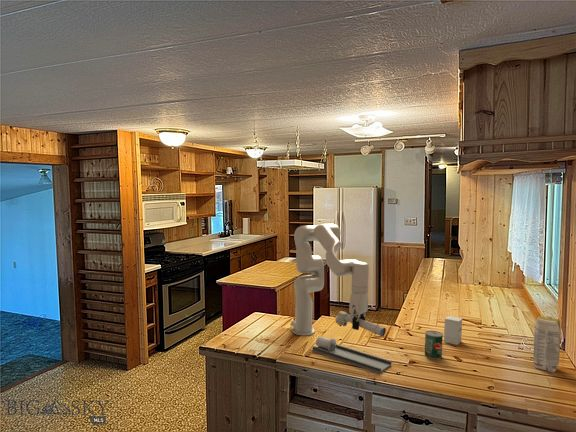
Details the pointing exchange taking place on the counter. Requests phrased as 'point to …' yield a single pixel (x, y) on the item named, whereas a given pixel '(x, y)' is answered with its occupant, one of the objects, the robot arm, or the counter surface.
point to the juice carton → (547, 343)
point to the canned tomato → (433, 344)
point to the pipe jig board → (350, 355)
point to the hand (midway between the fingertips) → (358, 327)
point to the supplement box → (453, 330)
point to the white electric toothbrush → (360, 323)
